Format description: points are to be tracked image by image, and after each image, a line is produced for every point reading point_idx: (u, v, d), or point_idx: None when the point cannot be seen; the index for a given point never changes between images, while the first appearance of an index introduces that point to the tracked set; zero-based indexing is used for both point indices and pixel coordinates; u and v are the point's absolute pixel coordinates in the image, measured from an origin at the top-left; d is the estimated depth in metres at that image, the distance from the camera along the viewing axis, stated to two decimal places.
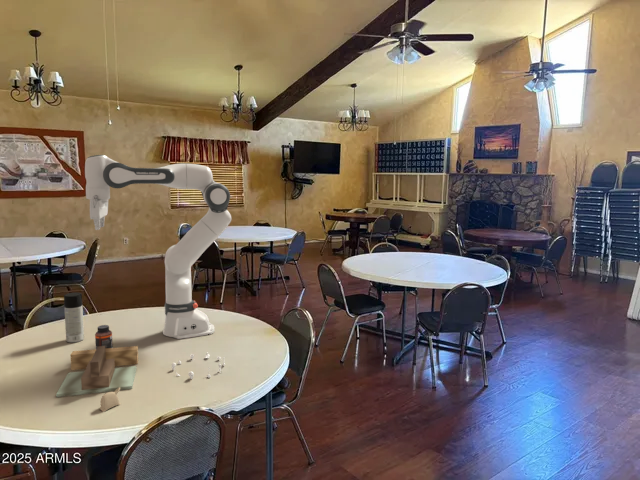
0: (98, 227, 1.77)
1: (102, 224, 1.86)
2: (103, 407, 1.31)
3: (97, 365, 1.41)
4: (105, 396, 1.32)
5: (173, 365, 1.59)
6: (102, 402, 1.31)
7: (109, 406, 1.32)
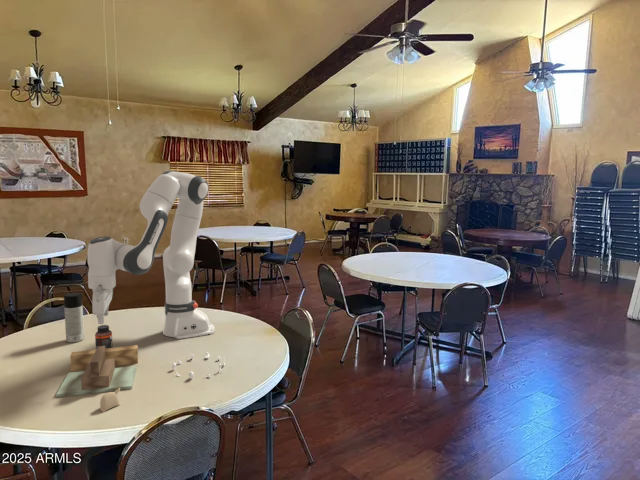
0: (102, 321, 1.54)
1: (106, 312, 1.63)
2: (103, 408, 1.31)
3: (97, 365, 1.41)
4: (105, 396, 1.31)
5: (173, 365, 1.59)
6: (102, 402, 1.31)
7: (109, 406, 1.31)
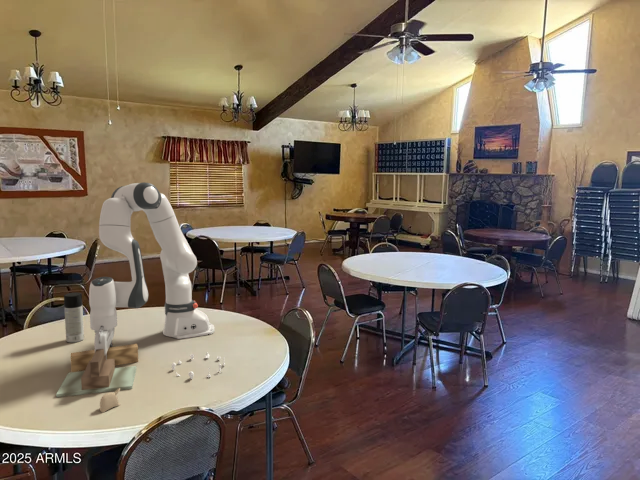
0: None
1: None
2: (102, 408, 1.30)
3: (97, 365, 1.41)
4: (104, 397, 1.31)
5: (173, 365, 1.59)
6: (101, 403, 1.30)
7: (108, 407, 1.31)
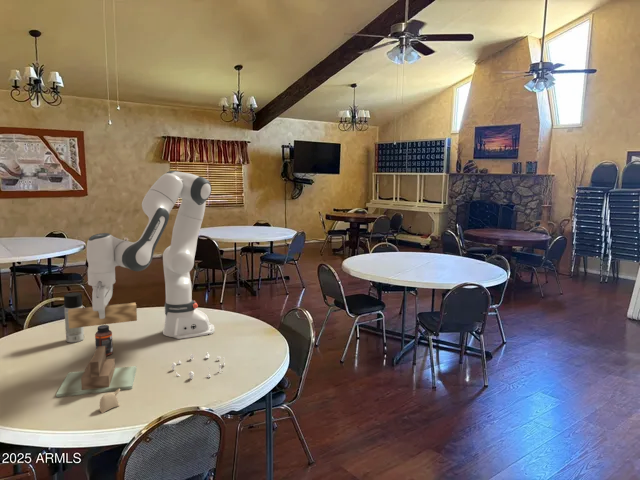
0: (103, 316, 1.56)
1: None
2: (102, 408, 1.30)
3: (97, 365, 1.41)
4: (104, 397, 1.31)
5: (173, 365, 1.58)
6: (101, 403, 1.30)
7: (108, 407, 1.31)
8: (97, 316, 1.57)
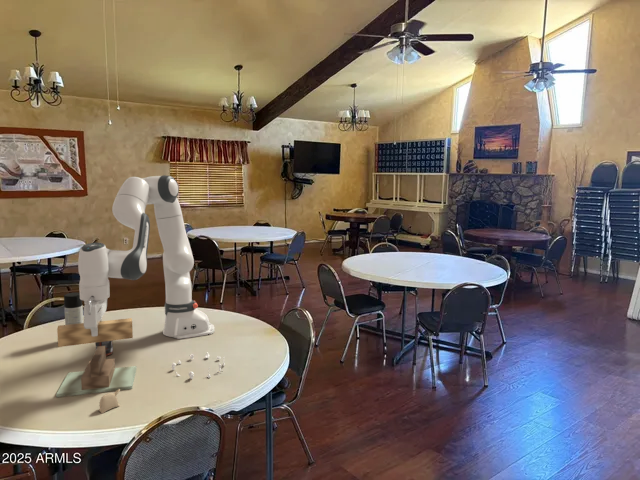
0: (95, 333, 1.43)
1: None
2: (102, 409, 1.30)
3: (97, 365, 1.41)
4: (104, 397, 1.31)
5: (173, 365, 1.58)
6: (101, 403, 1.30)
7: (108, 407, 1.31)
8: (89, 333, 1.44)
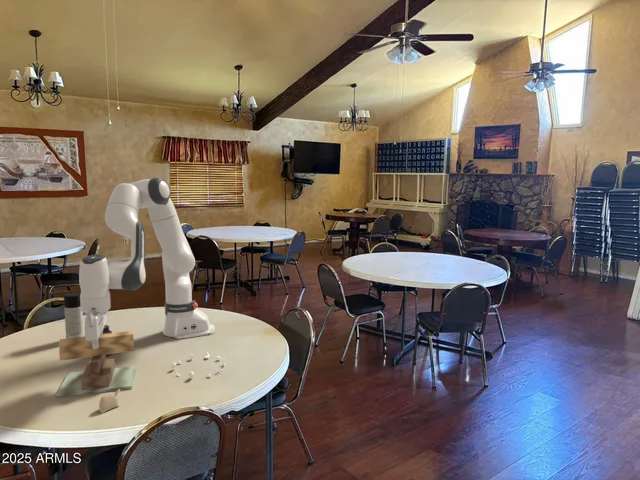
0: (96, 346, 1.43)
1: None
2: (102, 409, 1.30)
3: (97, 365, 1.41)
4: (104, 398, 1.31)
5: (173, 365, 1.58)
6: (101, 404, 1.30)
7: (108, 408, 1.31)
8: (90, 347, 1.45)
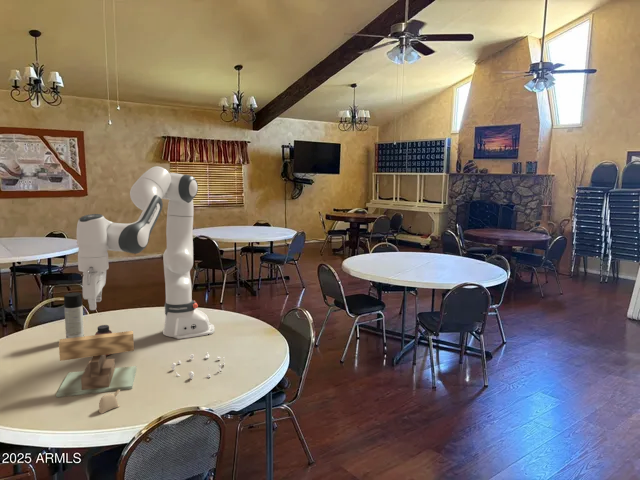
0: (94, 307, 1.40)
1: (99, 298, 1.49)
2: (101, 409, 1.30)
3: (97, 365, 1.41)
4: (104, 398, 1.30)
5: (173, 365, 1.58)
6: (100, 404, 1.30)
7: (107, 408, 1.30)
8: (90, 347, 1.45)
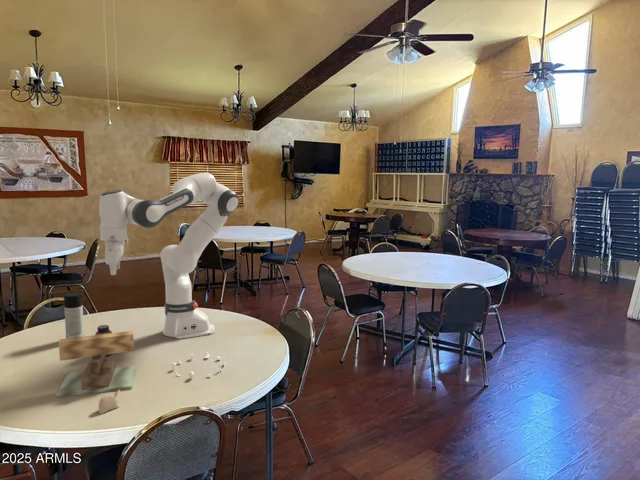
0: (114, 272, 1.57)
1: (118, 266, 1.66)
2: (101, 410, 1.29)
3: (97, 365, 1.41)
4: (103, 398, 1.30)
5: (173, 365, 1.58)
6: (100, 404, 1.30)
7: (107, 409, 1.30)
8: (90, 347, 1.45)
